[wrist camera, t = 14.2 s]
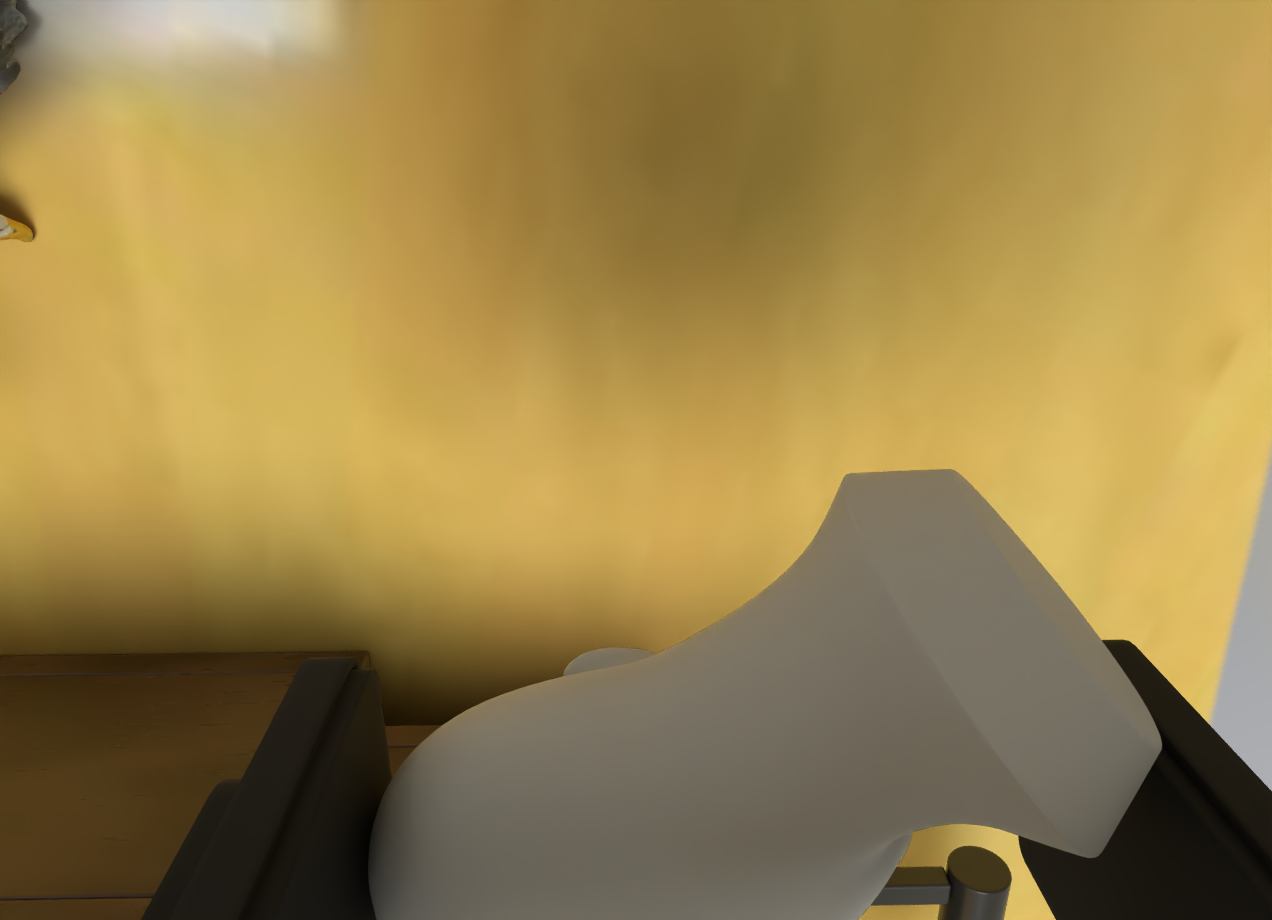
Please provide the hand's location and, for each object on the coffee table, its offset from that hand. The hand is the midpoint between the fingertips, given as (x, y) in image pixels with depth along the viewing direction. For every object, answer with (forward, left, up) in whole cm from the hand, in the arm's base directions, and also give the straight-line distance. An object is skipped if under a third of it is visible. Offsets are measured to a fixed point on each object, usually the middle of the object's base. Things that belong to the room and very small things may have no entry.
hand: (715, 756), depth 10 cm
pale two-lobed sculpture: (0, 0, -1) cm, 1 cm away
